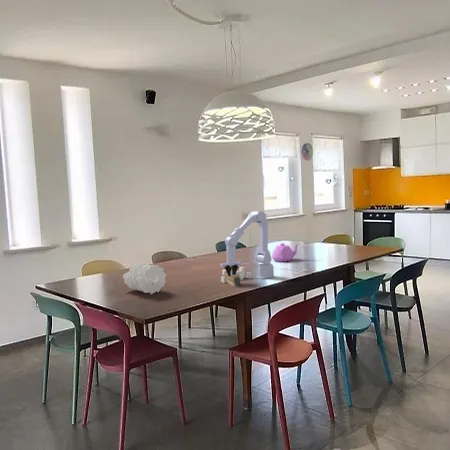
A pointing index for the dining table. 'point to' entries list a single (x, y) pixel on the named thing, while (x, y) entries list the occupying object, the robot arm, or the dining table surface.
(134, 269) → the white faceted lump
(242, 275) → the white comb rack
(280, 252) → the teapot
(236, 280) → the rail
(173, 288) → the dining table surface
